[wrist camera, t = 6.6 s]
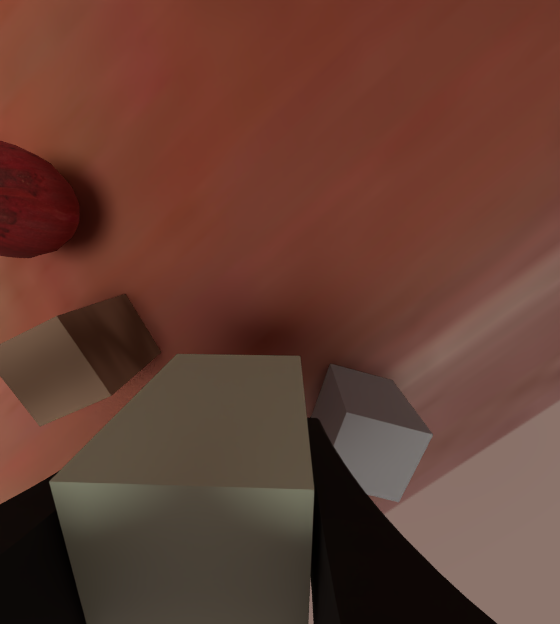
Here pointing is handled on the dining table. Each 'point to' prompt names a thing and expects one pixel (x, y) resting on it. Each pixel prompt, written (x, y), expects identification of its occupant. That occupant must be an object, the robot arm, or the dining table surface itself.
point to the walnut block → (76, 358)
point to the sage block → (196, 498)
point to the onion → (33, 205)
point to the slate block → (372, 429)
